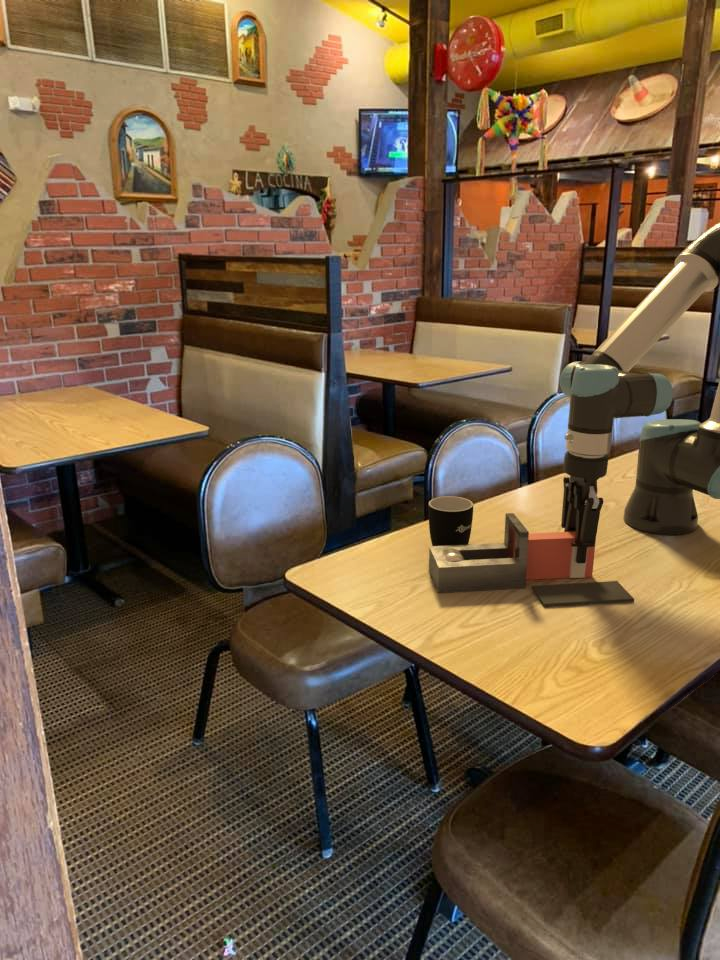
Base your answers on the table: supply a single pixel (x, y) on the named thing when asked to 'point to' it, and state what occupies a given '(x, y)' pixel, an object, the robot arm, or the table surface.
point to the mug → (450, 520)
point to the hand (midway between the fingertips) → (573, 572)
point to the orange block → (553, 555)
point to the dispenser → (482, 562)
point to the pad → (581, 593)
